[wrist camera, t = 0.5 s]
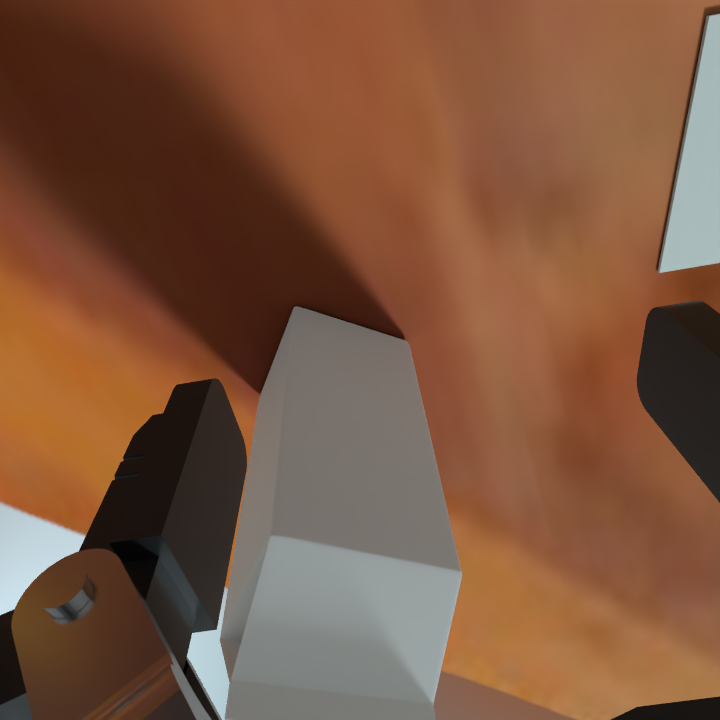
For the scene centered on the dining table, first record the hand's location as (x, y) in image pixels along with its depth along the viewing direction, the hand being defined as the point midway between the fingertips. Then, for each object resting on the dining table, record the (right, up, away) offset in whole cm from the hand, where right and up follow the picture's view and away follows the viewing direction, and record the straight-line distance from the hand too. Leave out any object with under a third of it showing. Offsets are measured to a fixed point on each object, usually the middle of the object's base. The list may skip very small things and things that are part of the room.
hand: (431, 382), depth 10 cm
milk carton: (-3, 0, +22) cm, 22 cm away
